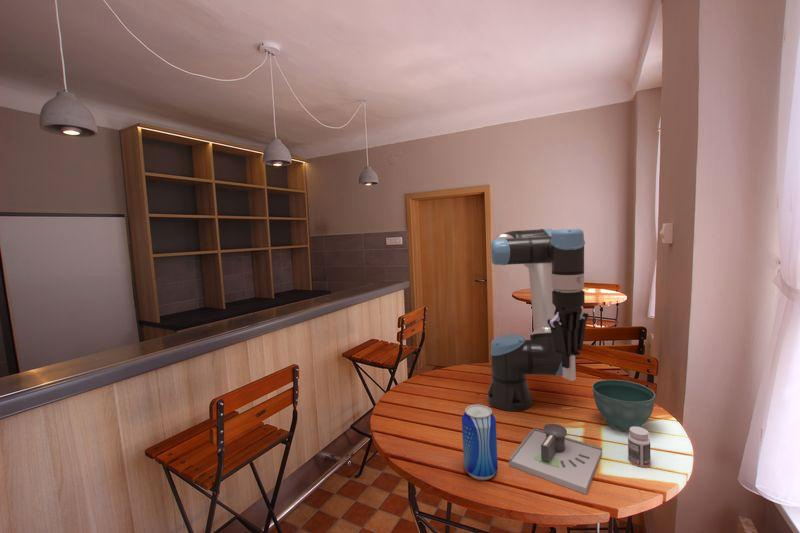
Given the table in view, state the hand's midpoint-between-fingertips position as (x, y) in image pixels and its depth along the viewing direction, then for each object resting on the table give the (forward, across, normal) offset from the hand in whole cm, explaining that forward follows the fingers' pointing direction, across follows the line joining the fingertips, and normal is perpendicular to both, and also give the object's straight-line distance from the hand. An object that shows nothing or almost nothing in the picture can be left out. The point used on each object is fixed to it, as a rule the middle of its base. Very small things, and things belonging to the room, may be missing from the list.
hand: (569, 378), depth 93 cm
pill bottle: (+21, +12, -11) cm, 27 cm away
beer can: (+21, -25, +7) cm, 33 cm away
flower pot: (+22, +26, +2) cm, 34 cm away
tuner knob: (+19, -5, +1) cm, 20 cm away
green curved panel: (+19, -6, -2) cm, 20 cm away
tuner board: (+21, -5, 0) cm, 22 cm away
